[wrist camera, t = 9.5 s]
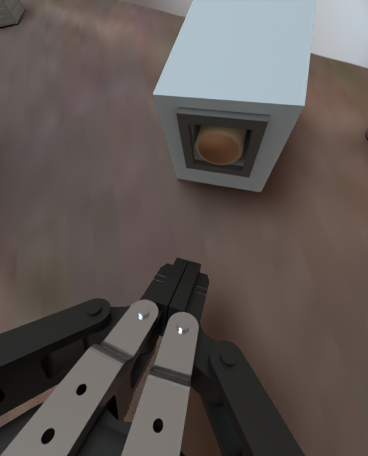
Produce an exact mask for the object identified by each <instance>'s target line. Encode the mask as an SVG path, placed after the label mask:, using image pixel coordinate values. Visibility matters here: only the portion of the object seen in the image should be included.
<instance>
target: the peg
mask: <svg viewBox="0 0 368 456" xmlns="http://www.w3.org/2000/svg"><path fill="white" fill-rule="evenodd" d="M246 133H247V130H246V129H237V128H227V127H218V126H208V125H201V127H200V130H199V133H198V137H197V140H196V143H195V148H196V151H197V153H198V154H199V156H200V157H201V158H202V159H204V160H205V161H207V162H209V163H212V164H216V165H228V164H231V163H234V162H235V161H237V160H238V159H239V158H240V157H241V155H242V151H243V146H244V142H245V137H246Z"/></svg>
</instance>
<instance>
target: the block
mask: <svg viewBox="0 0 368 456" xmlns="http://www.w3.org/2000/svg"><path fill="white" fill-rule="evenodd" d="M315 8H316V0H193V2H192V5H191V7H190V9H189V12H188V14H187V16H186V19H185V21H184V23H183V26H182V28H181V30H180V32H179V35H178V37H177V39H176V42H175V44H174V46H173V49H172V51H171V53H170V56H169V58H168V60H167V63H166V65H165V67H164V69H163V72H162V74H161V76H160V79H159V81H158V83H157V86H156V88H155V90H154V93H153V97H154V101H155V104H156V108H157V111H158V115H159V118H160V122H161V125H162V129H163V132H164V136H165V139H166V143H167V146H168V150H169V153H170V157H171V161H172V164H173V168H174V171H175V175H176V178H177V179H183V180H189V181H195V182H201V183H207V184H213V185H219V186H225V187H231V188H237V189H243V190H249V191H255V192H261V191H262V189H263V187H264V185H265V183H266V181H267V179H268V177H269V175H270V173H271V171H272V169H273V167H274V165H275V163H276V161H277V159H278V158H279V156H280V154H281V152H282V150H283V148H284V146H285V144H286V142H287V140H288V138H289V136H290V134H291V132H292V130H293V128H294V126H295V124H296V122H297V120H298V118H299V116H300V114H301V112H302V110H303V108H304V106H305V97H306V88H307V79H308V70H309V62H310V53H311V43H312V35H313V26H314V16H315ZM201 125H208V126H218V127H227V128H237V129H246V130H247V133H246V137H245V142H244V146H243V151H242V155H241V157H240V158H239V159H238V160H237V161H235V162H234V163H231V164H228V165H216V164H212V163H209V162H207V161H205V160H204V159H202V158H201V157H200V156H199V154H198V153H197V151H196V148H195V143H196V140H197V137H198V133H199V130H200V127H201Z"/></svg>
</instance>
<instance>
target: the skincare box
mask: <svg viewBox="0 0 368 456" xmlns="http://www.w3.org/2000/svg"><path fill="white" fill-rule="evenodd" d="M24 10H25V8H24V6H23V5H22V3H21V1H20V0H0V27H3V26H7V25H12V24H17V23H18V22H19V20H20V18H21V16H22V14H23V12H24Z"/></svg>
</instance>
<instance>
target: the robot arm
mask: <svg viewBox="0 0 368 456" xmlns="http://www.w3.org/2000/svg"><path fill="white" fill-rule="evenodd" d="M200 268H201V264H199V263H195V262H191V261H188V260H184V259H180V258H177V259H176V261H175V262H174V264H173V265H171V264H166V265H164V266H163V267H161V268H160V270H159V271H158V273H157V275H156V276H155V277H154V280H153V281H152V282H151V284H150V285H149V287H148V288H147V290H146V292H145V293H144V295H143V296H142V298H141V299H140V300H139V301H137V302H135V303H134V304H132V305H131V306H128V307H110V304H109V302H108V301H106V300H104V299H99V298H98V299H92V300H89V301H87V302H84V303H81V304H79V305H76V306H73V307H71V308H68V309H65V310H63V311H60V312H57V313H55V314H52V315H49V316H47V317H44V318H41V319H39V320H36V321H34V322H31V323H28V324H26V325H23V326H20V327H18V328H15V329H12V330H10V331H7V332H4V333H2V334H0V416H1V415H3V414H5V413H7V412H8V411H10V410H12V409H14V408H16V407H17V406H19V405H21V404H23V403H25V402H26V401H28V400H30V399H32V398H34V397H35V396H37V395H39V394H41V393H43V392H45V391H46V390H48V389H50V388H52V387H54V386H55V385H57V384H59V383H60V384H59V385H58V386H57V387H56V389H55V390H54V391H53V392H52V393H51V395H50V396H49V397H48V398H47V400H46V401H45V402H43V403H41V404H39V405H37V406H35V407H33V408H31V409H30V410H28V411H26V412H25V413H23V414H21V415H20V416H18V417H17V418H15V419H13V420H12V421H10V422H8V423H7V424H5V425H3V426H2V427H0V456H185V455H184V454H183V453H182V451H181V450H180V449H181V443H182V436H183V430H184V423H185V417H186V410H187V404H188V398H189V391H190V386H192V387H193V388H194V389H195V390H196V391H197V392H198V393H199V394H200V395H201V399H202V401H203V404H204V407H205V410H206V412H207V415H208V418H209V421H210V423H211V426H212V429H213V431H214V434H215V437H216V440H217V442H218V445H219V448H220V451H221V453H222V456H305V455H304V453H303V452H302V450H301V449H300V447H299V445H298V444H297V442H296V440H295V439H294V437H293V435H292V434H291V432H290V430H289V429H288V427H287V426H286V424H285V422H284V421H283V419H282V417H281V416H280V414H279V412H278V411H277V409H276V407H275V406H274V404H273V403H272V401H271V399H270V398H269V396H268V394H267V393H266V391H265V389H264V388H263V386H262V385H261V383H260V381H259V380H258V378H257V376H256V375H255V373H254V371H253V370H252V368H251V366H250V365H249V363H248V362H247V360H246V358H245V357H244V355H243V353H242V352H241V350H240V349H239V348H238V347H237V346H236V345H234V344H233V343H231V342H228V341H219V342H217V343H216V342H215V341H213V340H212V339H211V338H209V337H208V336H207V335H206V334H205V333H204V332H203V330H202V328H201V325H200V318H201V314H202V310H203V306H204V302H205V298H206V294H207V289H208V285H209V279H208V276H207V275H206V274H203V273H200ZM159 335H161V336H163V339H162V342H161V345H160V348H159V351H158V354H157V357H156V360H155V363H154V366H153V368H152V369H151V370H150V372H149V375H148V377H147V380H146V383H145V386H144V389H143V392H142V395H141V398H140V401H139V404H138V407H137V410H136V413H135V416H134V419H133V422H123V421H124V418H125V416H126V414H127V412H128V410H129V407H130V404H131V401H132V397H133V395H134V392H135V390H136V388H137V386H138V384H139V382H140V380H141V378H142V376H143V374H144V372H145V370H146V368H147V366H148V364H149V362H150V360H151V358H152V356H153V354H154V352H155V350H156V342H157V340H158V338H159Z"/></svg>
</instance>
